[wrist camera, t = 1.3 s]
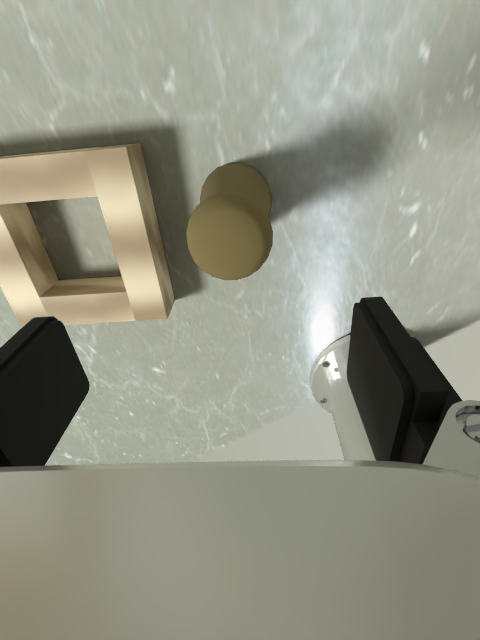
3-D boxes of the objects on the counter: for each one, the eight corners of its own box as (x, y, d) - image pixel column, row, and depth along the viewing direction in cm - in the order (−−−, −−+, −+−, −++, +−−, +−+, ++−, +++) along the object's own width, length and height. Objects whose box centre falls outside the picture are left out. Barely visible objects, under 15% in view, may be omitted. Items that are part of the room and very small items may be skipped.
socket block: (174, 300, 33) (167, 318, 30) (42, 308, 34) (22, 327, 31) (140, 142, 25) (125, 147, 22) (-29, 159, 26) (-64, 165, 23)
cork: (283, 216, 28) (299, 268, 19) (223, 248, 30) (210, 310, 21) (251, 147, 25) (250, 167, 16) (186, 186, 27) (152, 225, 18)
